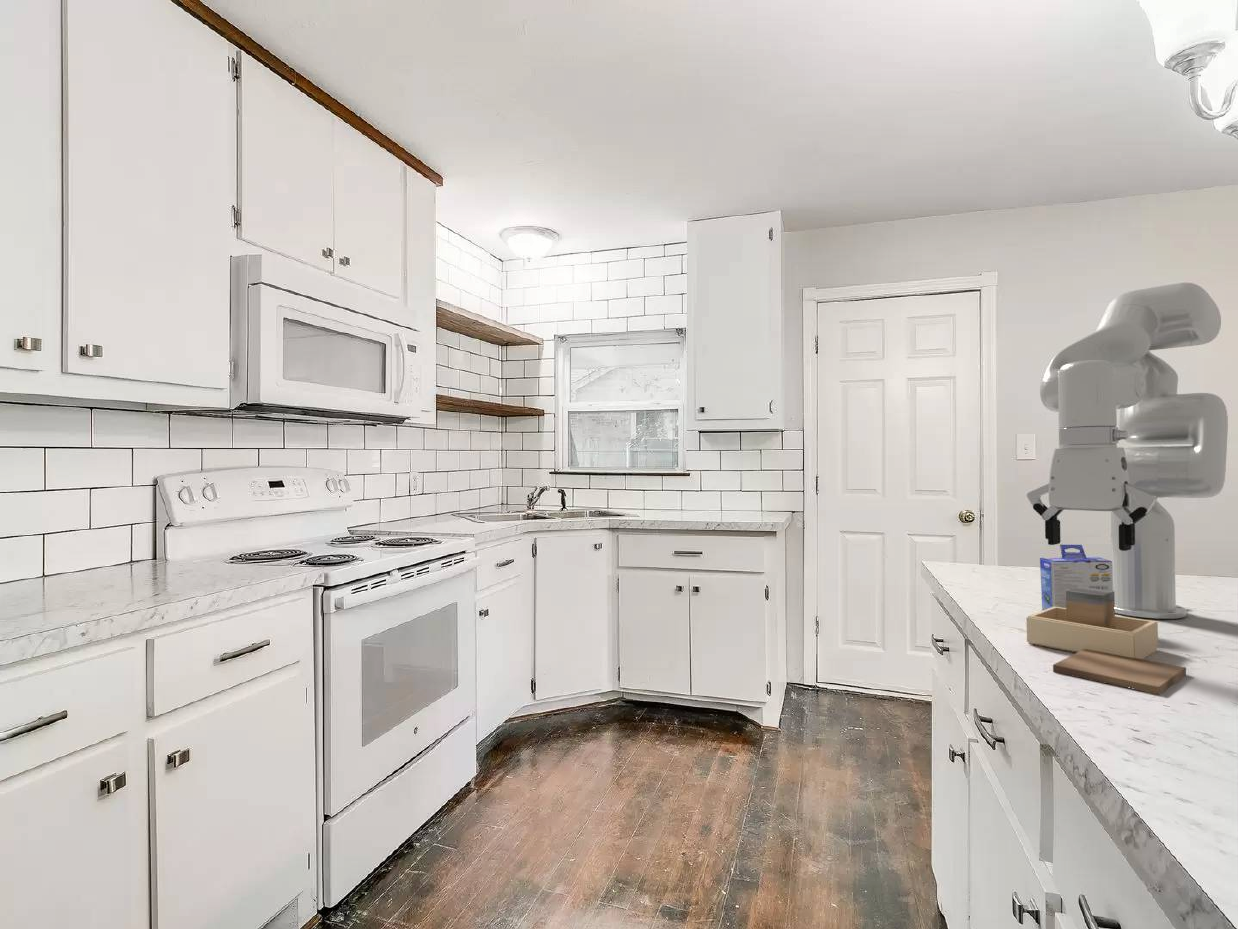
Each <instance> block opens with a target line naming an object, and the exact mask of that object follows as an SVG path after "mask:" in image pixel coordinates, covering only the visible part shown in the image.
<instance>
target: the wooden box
mask: <svg viewBox="0 0 1238 929" xmlns="http://www.w3.org/2000/svg"><path fill="white" fill-rule="evenodd" d="M1158 627H1159V624H1158V621H1155V620H1151V619H1150V620H1149V619H1143V618H1137V617H1130V616H1121V615H1116V614H1115V629H1110V628H1104V627H1098V626H1092V625H1086V624H1079V623H1073V622H1067V621H1066V608H1061V607H1051V608H1048V609H1046V610H1043V611H1042V610H1040V611H1038V612H1035V613H1033V614H1030V615H1027V617H1026V642H1027V643H1028V644H1029V645H1034V644H1035V645H1036V646H1040V647H1044V646H1045V648H1049V649H1056V650H1060V651H1061V650H1062V651H1065V650H1066V651H1065V652H1070V651H1071V652H1072V653H1075V652H1076V653H1077V652H1079V651H1081V650H1083V649H1088V650H1093V651H1099V652H1104V653H1109V654H1115V655H1120V656H1125V657H1131V658H1138V659H1143V660H1145V659H1146V658H1147V657H1149V656H1150V655H1152V654H1154V653H1156V652H1157V651H1158V648H1159V634H1158V633H1159V631H1158V630H1159V628H1158ZM1156 650H1157V651H1156ZM1145 657H1146V658H1145Z"/></svg>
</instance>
